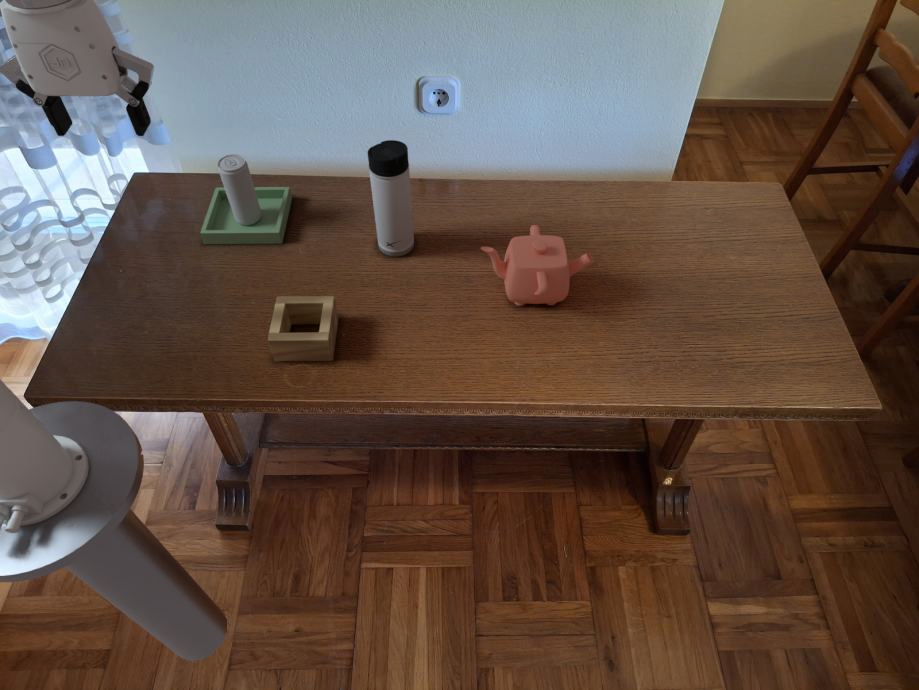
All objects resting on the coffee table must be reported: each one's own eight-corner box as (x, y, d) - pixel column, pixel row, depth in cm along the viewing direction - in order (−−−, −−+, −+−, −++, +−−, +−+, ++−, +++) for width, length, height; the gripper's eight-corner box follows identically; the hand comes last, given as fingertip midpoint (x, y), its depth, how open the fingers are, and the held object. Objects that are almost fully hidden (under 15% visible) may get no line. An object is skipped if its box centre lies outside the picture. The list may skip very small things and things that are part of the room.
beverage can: (241, 230, 116) (222, 174, 107) (231, 215, 118) (212, 159, 109) (266, 220, 118) (250, 164, 108) (256, 206, 120) (239, 150, 111)
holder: (333, 360, 99) (328, 339, 95) (274, 361, 98) (267, 340, 95) (338, 317, 104) (334, 295, 100) (283, 317, 104) (276, 296, 100)
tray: (282, 243, 115) (279, 232, 113) (204, 244, 115) (199, 233, 112) (292, 198, 123) (289, 186, 121) (219, 198, 122) (215, 187, 120)
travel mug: (394, 263, 112) (385, 165, 96) (371, 244, 115) (358, 145, 99) (422, 246, 114) (417, 148, 99) (398, 228, 117) (390, 130, 102)
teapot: (539, 251, 114) (545, 205, 106) (590, 289, 108) (600, 244, 100) (478, 289, 108) (479, 244, 100) (528, 332, 102) (533, 287, 95)
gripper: (-61, -1, 66) (22, 147, 79) (111, 0, 67) (166, 147, 80) (-27, -30, 71) (46, 114, 84) (133, -29, 72) (182, 114, 85)
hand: (104, 130), depth 82 cm, fingers open, 9 cm apart
